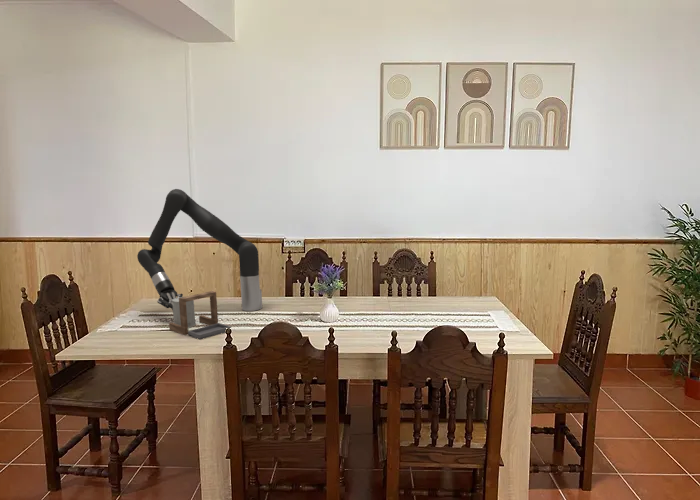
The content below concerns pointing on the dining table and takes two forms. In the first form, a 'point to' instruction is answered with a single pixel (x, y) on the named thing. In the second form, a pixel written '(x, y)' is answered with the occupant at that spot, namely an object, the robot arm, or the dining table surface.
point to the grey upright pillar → (189, 312)
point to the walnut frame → (202, 319)
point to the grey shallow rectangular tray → (208, 331)
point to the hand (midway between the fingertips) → (178, 313)
